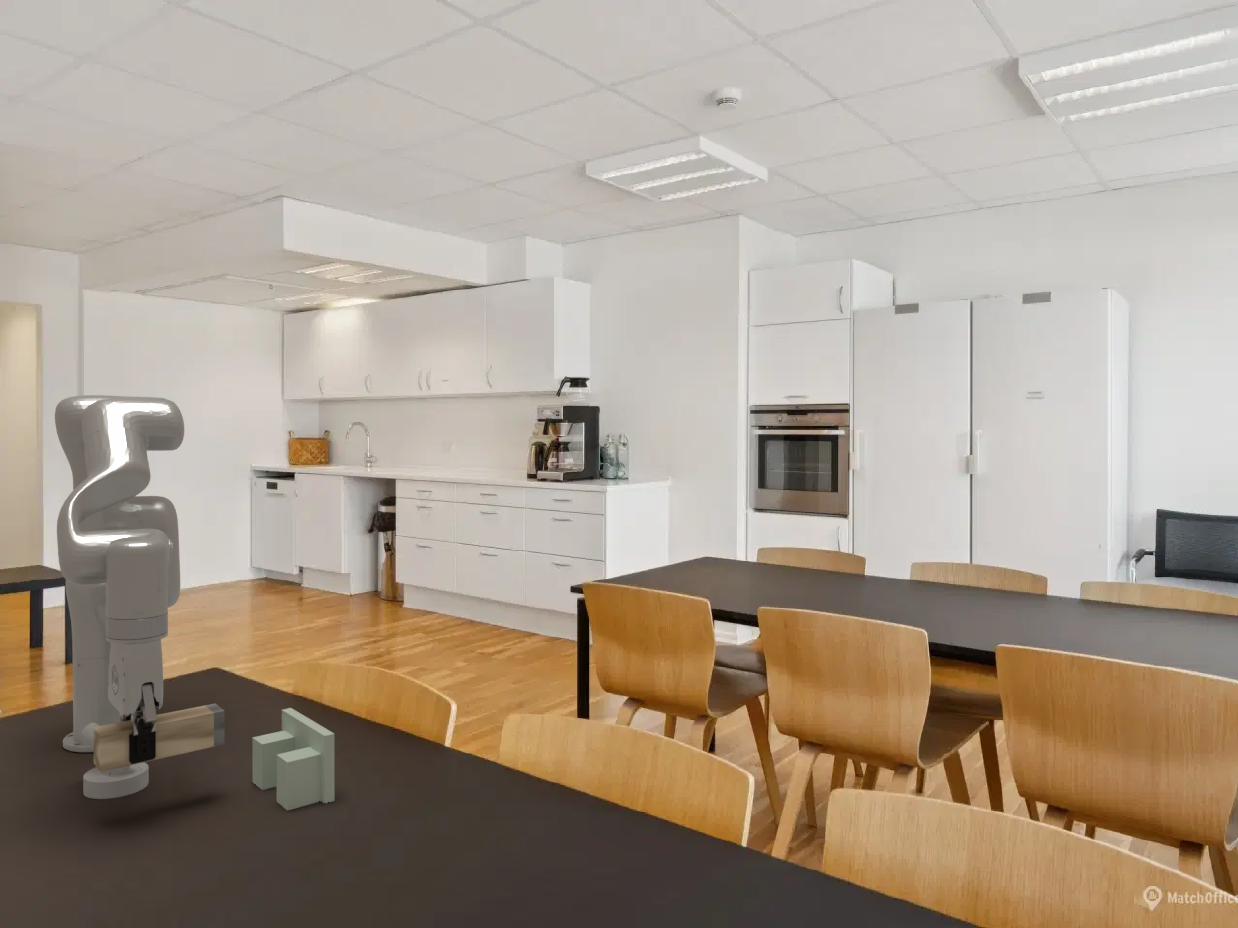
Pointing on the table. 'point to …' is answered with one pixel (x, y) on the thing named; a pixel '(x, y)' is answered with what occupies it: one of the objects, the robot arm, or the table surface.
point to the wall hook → (112, 775)
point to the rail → (162, 736)
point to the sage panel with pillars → (296, 761)
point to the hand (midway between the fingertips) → (137, 754)
